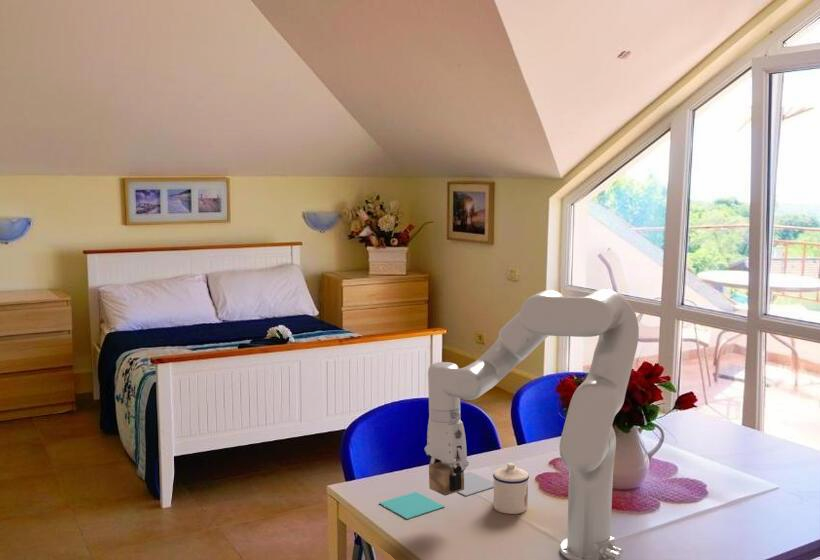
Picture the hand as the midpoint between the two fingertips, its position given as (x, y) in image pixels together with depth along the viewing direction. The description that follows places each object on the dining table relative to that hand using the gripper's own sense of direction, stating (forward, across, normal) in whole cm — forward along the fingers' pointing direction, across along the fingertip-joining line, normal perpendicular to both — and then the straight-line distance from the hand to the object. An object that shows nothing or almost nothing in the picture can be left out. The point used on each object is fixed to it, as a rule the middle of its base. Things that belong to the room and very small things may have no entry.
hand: (446, 485), depth 203 cm
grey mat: (+10, +16, -20) cm, 28 cm away
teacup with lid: (+10, -1, -20) cm, 22 cm away
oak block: (+1, 0, 0) cm, 1 cm away
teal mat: (+9, +14, 0) cm, 17 cm away
